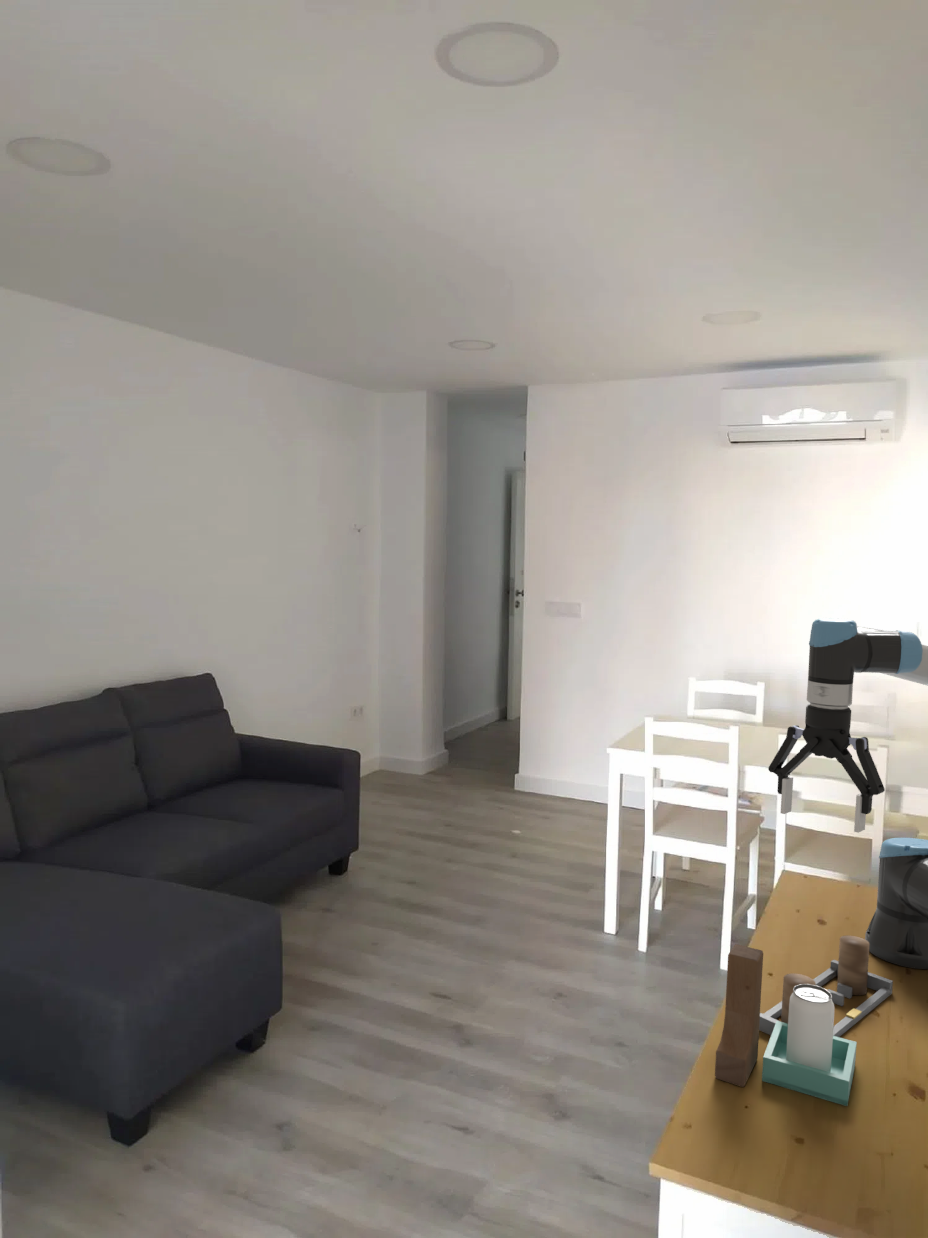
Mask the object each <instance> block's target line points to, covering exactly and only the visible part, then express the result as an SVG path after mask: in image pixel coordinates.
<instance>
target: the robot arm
mask: <svg viewBox="0 0 928 1238" xmlns="http://www.w3.org/2000/svg"><path fill="white" fill-rule="evenodd" d="M808 645H809V650H808V651H809V655H808V672H807V690H806V701H807V702H808V704H807V705H806V706H805V719H804V720H805V721H804V722H805V726H804V728H801V727H800V726H799V725H797V724H796V725H792V726H788V727H787V730H786V737H785V739H784V741H783V743H782V744H781V745H780V747H779V749H778V750H777V753H776V754H775V755H774V758H773V760H772V761H771V762H770V764H769V766H768V768H767V769H768V771H769V772H770V773H774V774H775V775H776V776H777V789H776V790H777V793H778V794H779V795H780V796H781V797H780V798H781V799H780V814H783V815H785V814H788V813H790V812H792V807H793V806H792V803H793V790H794V789H793V786H794V777H793V776H790V775H791V773H793V771H795V770H796V769H797V768H798V767H799V766H801V764H802V763H803V762H804V761H805V760H806V759H808V758H809V756H811V755H812V754H813V755H814V756H816V757H824V758H827V759H836V761H837V762H838V763H839V764H840V765H841V766H842V767H843V768H844V770H845V772H846V773H847V775H848V777H849V778H850V779H851V781H852V782H853V784H854V785H855V787H856V788H857V790H858V791H859V792H860V793H858V794H856V797H855V811H854V812H855V813H854V828H853V832H854V833H858V834H859V833H861V832H863V831H865V830H866V817H867V815H868V814H871V812H872V809H873V808H872V807H873V796H877V795H880V794H882V793H884V792H885V789H886V788H885V787H884V784H883V782H882V779H881V777H880V774H879V771H878V769H877V767H876V764H875V762H874V761H875V760H874V759H873V757H872V754H871V753H870V748H869V739H868V737H867V736H862V737H852V736H851V732H850V731H851V724H852V723H851V722H852V709H851V708H850V706H851V705H853V690H854V689H853V688H854V687H853V686H854V677H855V673H856V674H857V673H859V674H861V673H870V674H871V673H872V674H873V673H875V674H876V673H877V674H883V675H887V676H891V677H893V678H898V679H902V680H906V681H909V682H912V683H917V684H918V685H919V684H920V685H923V686H926V687H927V686H928V645H925V644H923V643H922V642H921V640H920V638H919V636H918V635H916V634H915V633H913V632H910V631H902V630H883V629H878V628H877V629H876V628H870V627H865V626H858V625H857V622H856V621H854V620H852V619H848V618H847V619H845V618H844V619H843V618H831V617H830V618H827V617H825V618H824V617H823V618H817V619H815V620H814V621H813V622H812V624H811V629H810V636H809V641H808ZM801 737H803V739H804V741H805V743H806V744H805V745H804V746H803V747H802V748H801V749H800V750H799V751H798V752H797V753H796V754H795V755H794V756H793V757H792V758H791V759H790V760H789V761H788V762H787V763H786V764H785V765H784V763H785V762H786V761H787V758H788V756H790V754H791V752H792V750H793V748H794V747H795V745H796V744H797V741H798V739H801ZM850 745H851V746H852V749H854V750H855V751H856V753H855V754H856V755H857V758H858V760H859V761H858V762H859V764H860V765H861V768H862V770H861V769H860V768H859V766H858V764H857V763H856V762H855V761H854V759H853V755H852V754H851V752H850V751H849V749H848V748H849V747H850ZM783 765H784V766H783ZM862 771H863V772H862ZM880 846H881V847H880V851H879V856H878V859H879V866H878V879H877V880H878V881H877V896H876V897H877V898H876V909H875V912H874V914H873V916H872V918H871V920H870V922H869V925H868V927H867V930H866V931H865V933H864V935H865V936H864V939H865V940H867V941H868V942H869V953H870V954H872V955H874V956H875V957H877V958H878V959H881V960H882V961H885V962H889V963H891V964H893V965H897V966H901V967H906V968H910V969H920V970H928V839H923V838H914V837H913V838H912V837H893V838H892V837H891V838H887V839H885V840H884V841H883V842H882V843H881V845H880Z"/></svg>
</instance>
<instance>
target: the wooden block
mask: <svg viewBox="0 0 928 1238" xmlns="http://www.w3.org/2000/svg"><path fill="white" fill-rule="evenodd" d="M763 963H764V951H763V950H761V949H759V948H754V947H750V946H747V945H746V946H745V945H742V944H734V945H733V947H732V948H731V949H730V950H729V953H728V954H727V970H726V971H727V973H726V989H725V1007H724V1018H723V1019H724V1020H723V1027H722V1033H721V1038H720V1040H719V1041H720V1042H719V1044H718V1046H717V1049H716V1051H715V1063H714V1065H715V1066H714V1078H715V1079H717V1080H719V1081H723V1082H726V1083H729V1084H731V1085H735V1086H738V1087H741V1088H744V1087H745V1086H746V1083H747V1081H748V1079H749V1077H750V1075H751V1072H752V1071H753V1069H754V1067H755V1064H756V1063H757V1060H758V1056H759V1055H758V1053H759V1041H760V1040H759V1039H760V1035H759V1034H760V1030H759V1022H760V1013H761V1002H762V1001H761V1000H762V984H763V983H762V982H763V969H764V968H763V967H764V966H763Z"/></svg>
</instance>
